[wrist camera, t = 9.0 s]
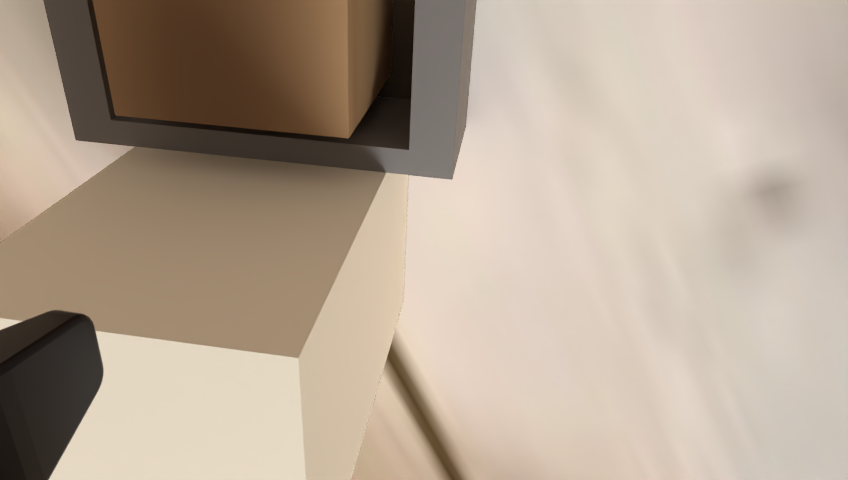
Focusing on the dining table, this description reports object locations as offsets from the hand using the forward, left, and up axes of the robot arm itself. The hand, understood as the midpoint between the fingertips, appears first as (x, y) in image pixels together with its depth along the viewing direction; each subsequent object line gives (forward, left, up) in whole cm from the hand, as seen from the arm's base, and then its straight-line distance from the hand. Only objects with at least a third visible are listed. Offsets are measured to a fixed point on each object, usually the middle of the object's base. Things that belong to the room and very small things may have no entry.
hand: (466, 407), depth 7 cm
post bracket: (+5, +4, -11) cm, 13 cm away
